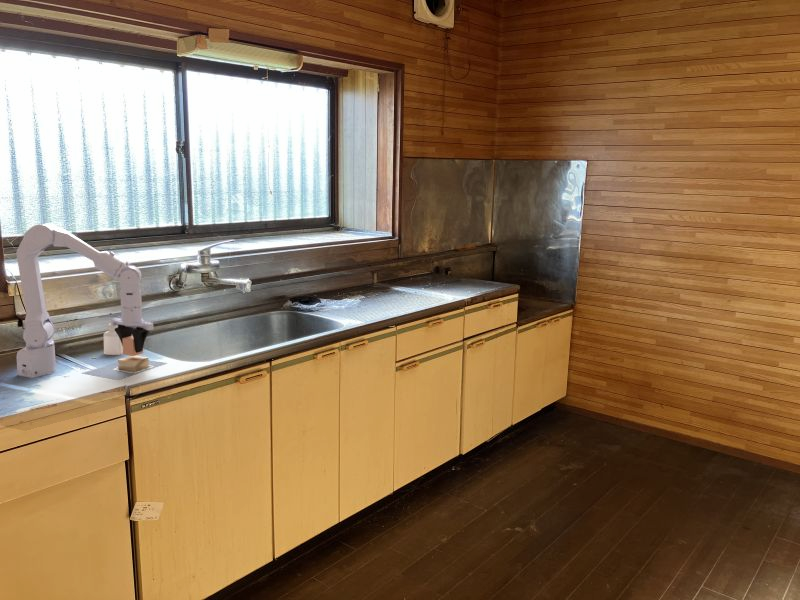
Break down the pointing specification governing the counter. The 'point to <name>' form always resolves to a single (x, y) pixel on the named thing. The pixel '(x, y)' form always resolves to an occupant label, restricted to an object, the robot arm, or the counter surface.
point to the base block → (133, 363)
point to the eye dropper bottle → (112, 342)
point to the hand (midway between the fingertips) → (133, 350)
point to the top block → (129, 346)
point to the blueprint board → (119, 371)
